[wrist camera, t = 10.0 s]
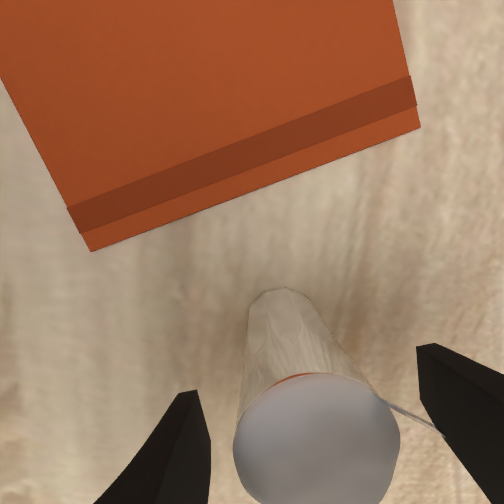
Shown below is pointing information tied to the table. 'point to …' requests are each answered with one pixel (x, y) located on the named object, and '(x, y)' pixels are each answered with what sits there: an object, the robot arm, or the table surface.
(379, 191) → the table surface
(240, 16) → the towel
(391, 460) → the milkshake
